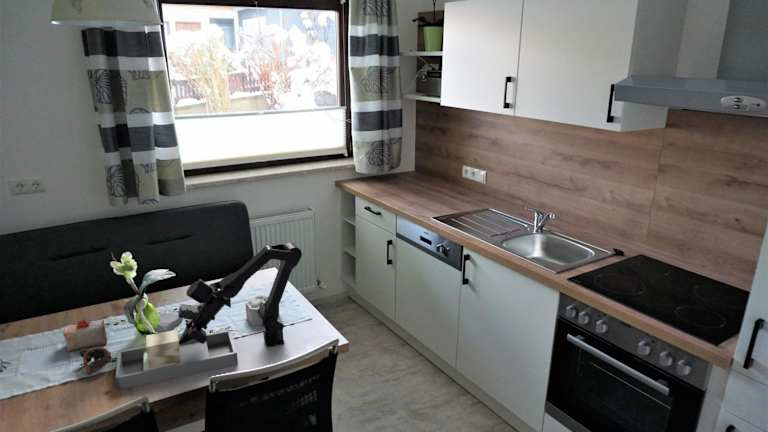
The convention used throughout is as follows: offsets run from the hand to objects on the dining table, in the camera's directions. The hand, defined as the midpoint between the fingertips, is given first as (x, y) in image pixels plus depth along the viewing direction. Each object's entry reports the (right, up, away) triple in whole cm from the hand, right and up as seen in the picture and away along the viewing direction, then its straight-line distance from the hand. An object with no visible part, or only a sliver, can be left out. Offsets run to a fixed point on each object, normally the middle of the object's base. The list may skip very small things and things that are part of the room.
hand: (179, 343), depth 179 cm
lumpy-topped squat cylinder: (+22, +2, +34) cm, 40 cm away
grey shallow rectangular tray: (-1, -7, +2) cm, 8 cm away
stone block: (-17, 0, +27) cm, 32 cm away
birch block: (-5, -5, -1) cm, 7 cm away
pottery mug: (-29, -8, 0) cm, 30 cm away
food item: (-40, -4, +13) cm, 42 cm away
